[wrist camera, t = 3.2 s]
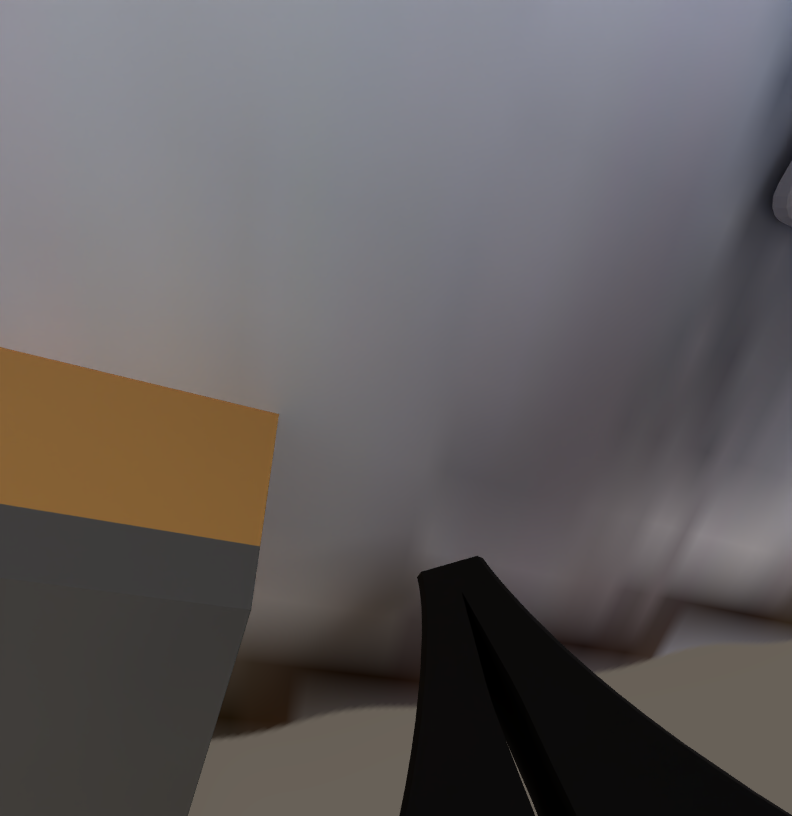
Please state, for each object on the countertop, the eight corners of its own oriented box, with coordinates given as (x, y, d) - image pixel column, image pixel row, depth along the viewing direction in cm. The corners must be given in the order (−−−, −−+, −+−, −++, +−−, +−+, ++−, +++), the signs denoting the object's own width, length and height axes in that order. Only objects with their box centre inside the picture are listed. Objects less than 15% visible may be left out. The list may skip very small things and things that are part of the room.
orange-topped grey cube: (278, 412, 10) (250, 610, 5) (225, 602, 11) (168, 878, 7) (-17, 341, 8) (-419, 524, 4) (-27, 569, 10) (-312, 887, 5)
